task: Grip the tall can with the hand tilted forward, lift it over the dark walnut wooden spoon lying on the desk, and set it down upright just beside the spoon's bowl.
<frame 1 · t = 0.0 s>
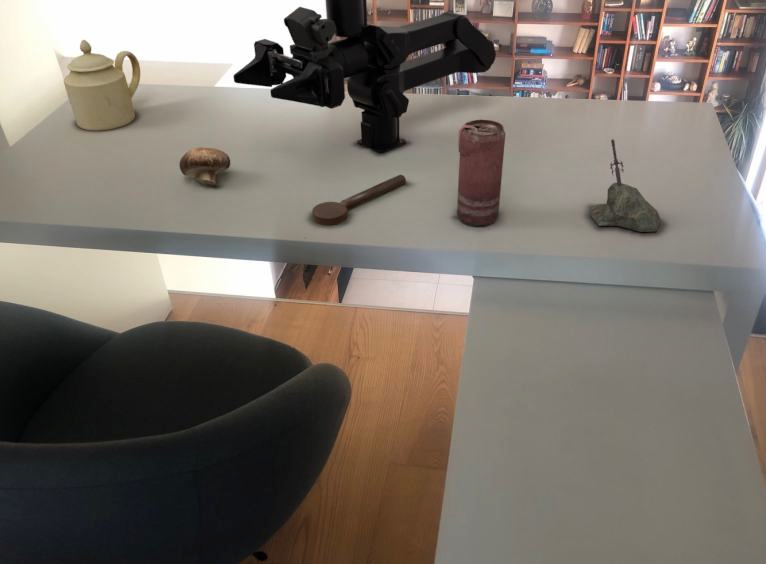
hand: (252, 86, 101), 17 cm above the table, tool horizontal, fingers open, 9 cm apart
can: (476, 218, 103), on the table
sword in stone: (624, 220, 102), on the table
sugar bowl: (110, 117, 137), on the table
wooden spoon: (359, 203, 107), on the table
mushroom: (208, 181, 114), on the table
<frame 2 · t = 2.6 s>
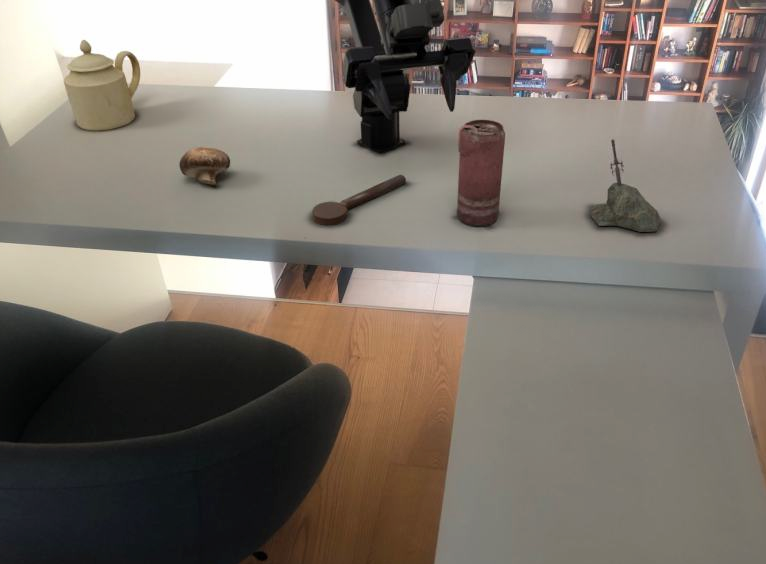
hand: (421, 113, 98), 14 cm above the table, tool tilted 55°, fingers open, 9 cm apart
nothing on the table moved.
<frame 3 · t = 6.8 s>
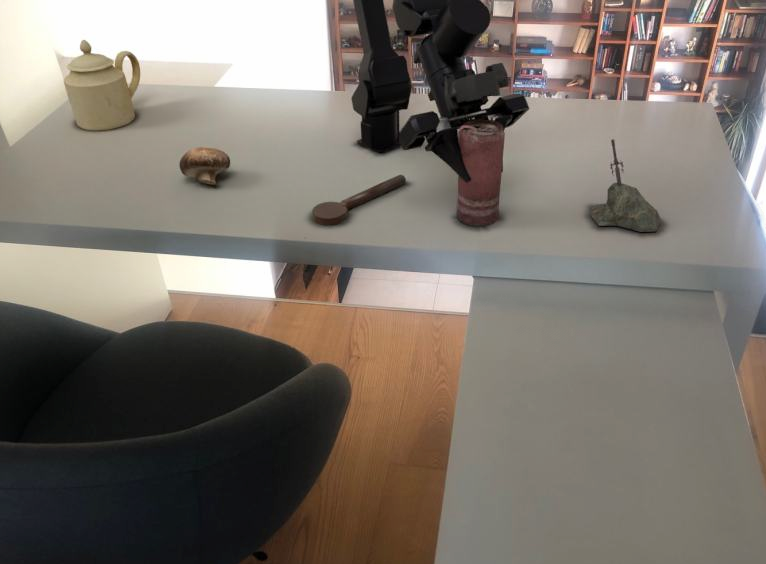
hand: (484, 177, 98), 7 cm above the table, tool tilted 45°, fingers closed on can, 5 cm apart
can: (476, 218, 103), on the table, touching gripper
everything else where it was.
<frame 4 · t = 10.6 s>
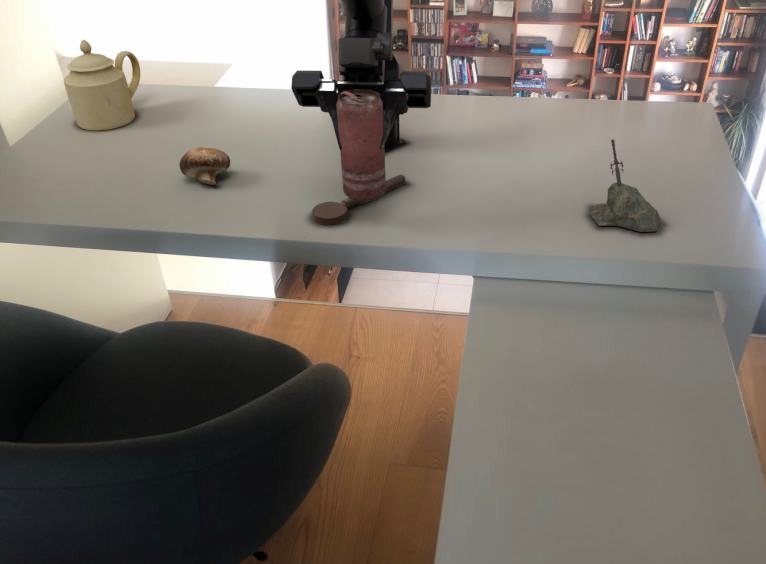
hand: (360, 149, 94), 12 cm above the table, tool tilted 45°, fingers closed on can, 5 cm apart
can: (364, 193, 100), point 5 cm above the table, touching gripper
everything else where it was.
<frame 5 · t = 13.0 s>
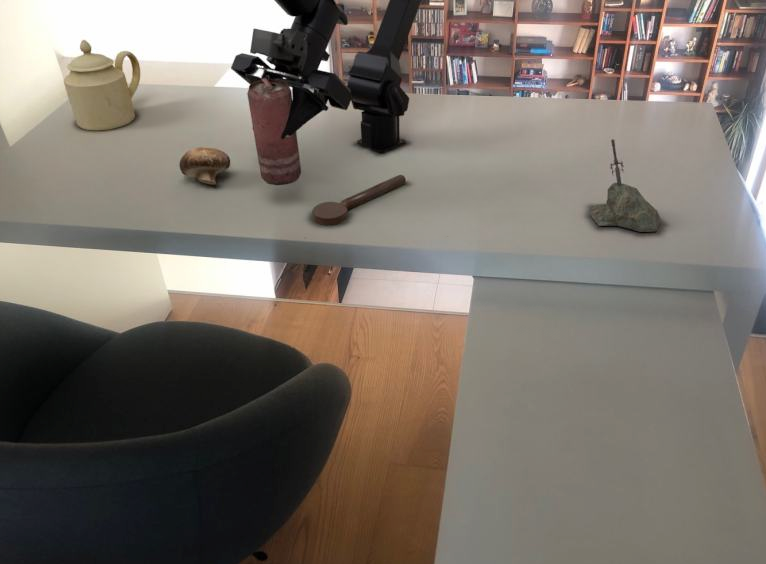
hand: (268, 135, 100), 11 cm above the table, tool tilted 45°, fingers closed on can, 5 cm apart
can: (281, 178, 106), point 4 cm above the table, touching gripper
everything else where it was.
when the fingers open (7 cm above the table, at t = 14.6 s): can stays where it is, on the table.
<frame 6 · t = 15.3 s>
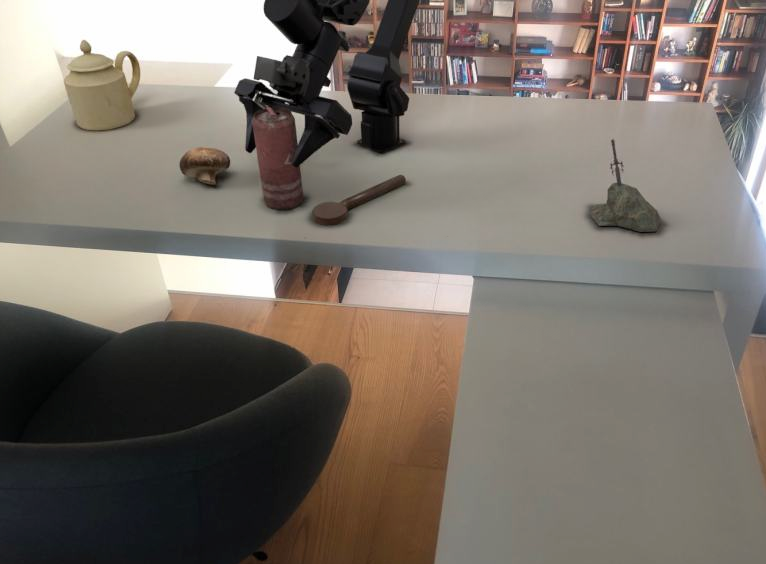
hand: (270, 158, 102), 8 cm above the table, tool tilted 45°, fingers open, 9 cm apart
can: (284, 202, 108), on the table
everything else where it was.
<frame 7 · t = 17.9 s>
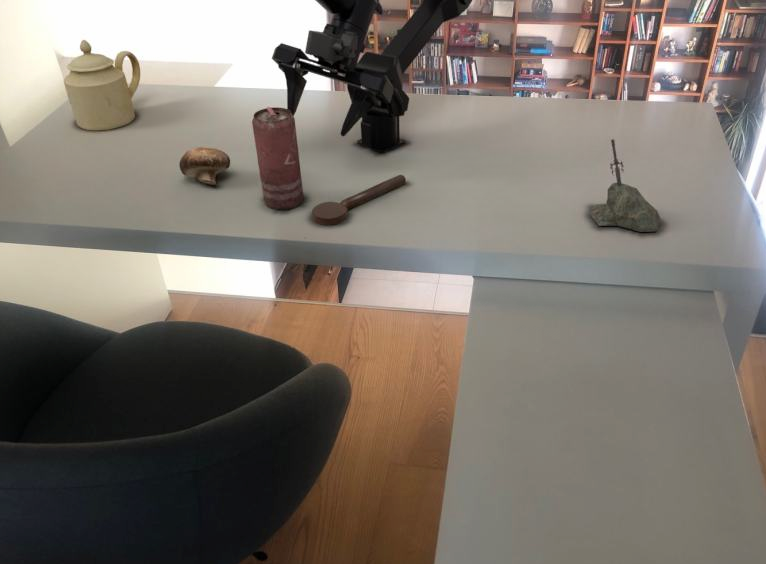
hand: (315, 126, 108), 9 cm above the table, tool tilted 40°, fingers open, 9 cm apart
nothing on the table moved.
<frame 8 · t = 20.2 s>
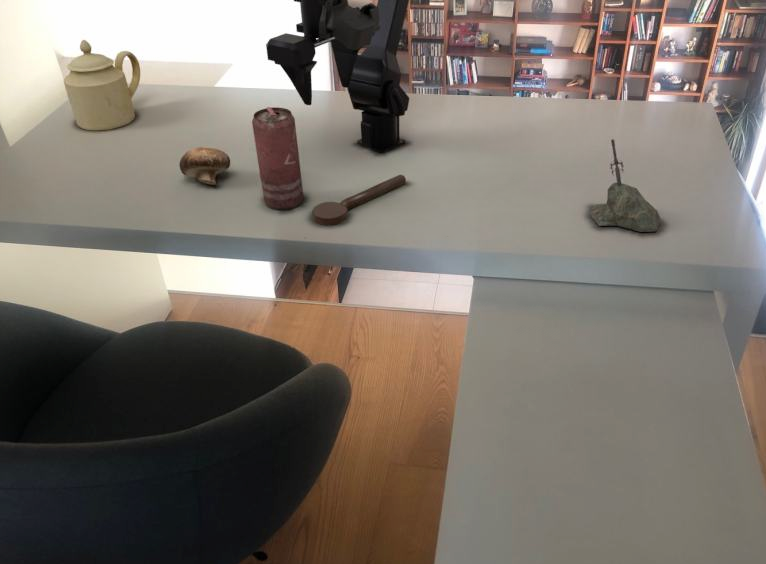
hand: (327, 95, 107), 13 cm above the table, tool pointing down, fingers open, 9 cm apart
nothing on the table moved.
at the end: can inside the target area on the table beside the wooden spoon (0.3 cm from its centre), on the table; can tilted 0°; the gripper is holding nothing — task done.
